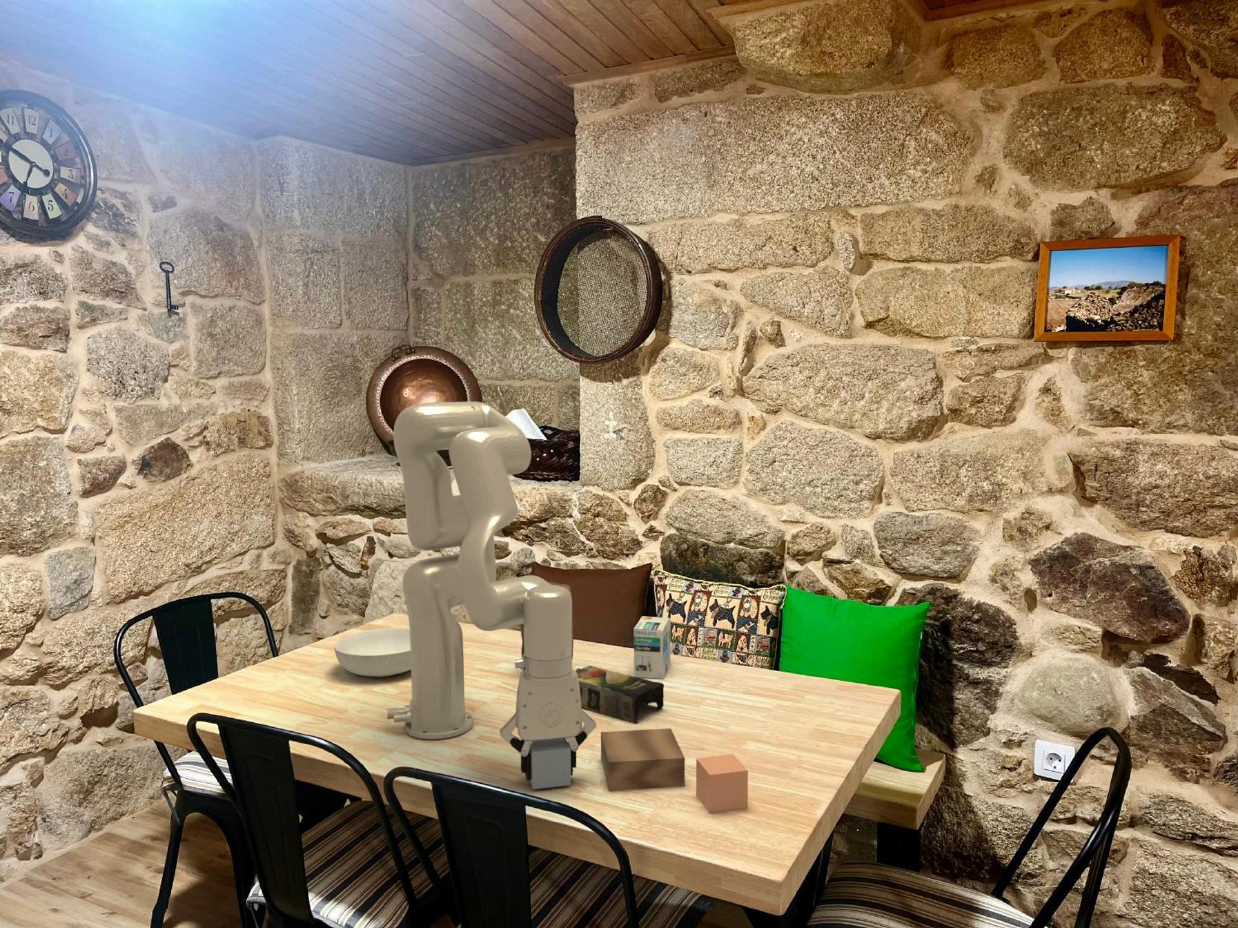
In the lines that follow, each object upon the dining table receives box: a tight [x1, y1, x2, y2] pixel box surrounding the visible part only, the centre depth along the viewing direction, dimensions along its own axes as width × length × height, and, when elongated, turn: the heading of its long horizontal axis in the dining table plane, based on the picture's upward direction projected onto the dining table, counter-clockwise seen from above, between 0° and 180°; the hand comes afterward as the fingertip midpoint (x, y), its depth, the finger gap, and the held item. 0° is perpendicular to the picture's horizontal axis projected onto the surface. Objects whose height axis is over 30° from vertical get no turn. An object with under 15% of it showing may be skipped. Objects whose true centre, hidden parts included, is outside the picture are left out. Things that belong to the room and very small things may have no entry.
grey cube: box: [529, 738, 572, 790], centre depth 143 cm, size 6×6×6 cm
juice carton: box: [574, 665, 665, 725], centre depth 176 cm, size 20×10×6 cm, turn 52°
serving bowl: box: [333, 627, 411, 678], centre depth 198 cm, size 21×21×7 cm
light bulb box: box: [633, 615, 672, 680], centre depth 196 cm, size 11×7×11 cm, turn 168°
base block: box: [600, 727, 686, 792], centre depth 146 cm, size 12×12×5 cm
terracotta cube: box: [695, 753, 749, 814], centre depth 136 cm, size 6×6×6 cm
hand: (548, 773), depth 143 cm, fingers closed on grey cube, 6 cm apart
